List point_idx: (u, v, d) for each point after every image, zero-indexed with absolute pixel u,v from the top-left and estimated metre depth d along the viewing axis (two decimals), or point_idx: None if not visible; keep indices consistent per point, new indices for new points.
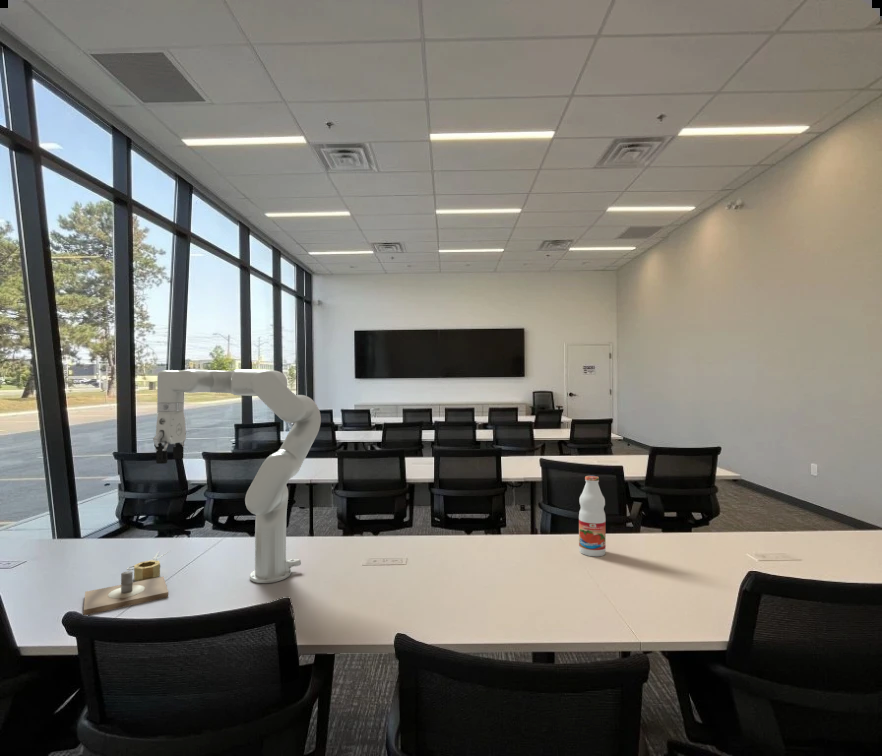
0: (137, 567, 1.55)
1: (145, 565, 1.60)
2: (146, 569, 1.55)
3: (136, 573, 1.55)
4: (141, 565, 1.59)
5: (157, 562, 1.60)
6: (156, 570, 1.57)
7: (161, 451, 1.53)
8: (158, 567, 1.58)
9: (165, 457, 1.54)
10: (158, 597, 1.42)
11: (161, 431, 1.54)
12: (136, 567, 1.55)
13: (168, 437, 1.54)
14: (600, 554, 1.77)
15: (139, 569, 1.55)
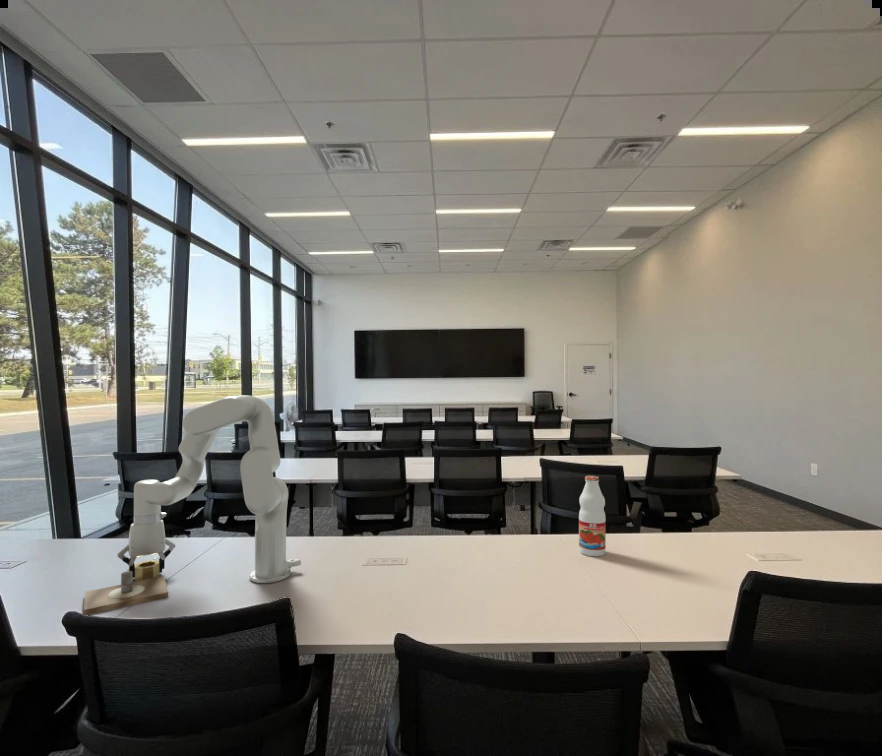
0: (137, 567, 1.55)
1: (145, 565, 1.60)
2: (146, 569, 1.55)
3: (136, 573, 1.55)
4: (141, 565, 1.59)
5: (157, 562, 1.60)
6: (156, 570, 1.57)
7: None
8: (158, 567, 1.58)
9: None
10: (158, 597, 1.42)
11: None
12: (136, 567, 1.55)
13: None
14: (600, 554, 1.77)
15: (139, 569, 1.55)
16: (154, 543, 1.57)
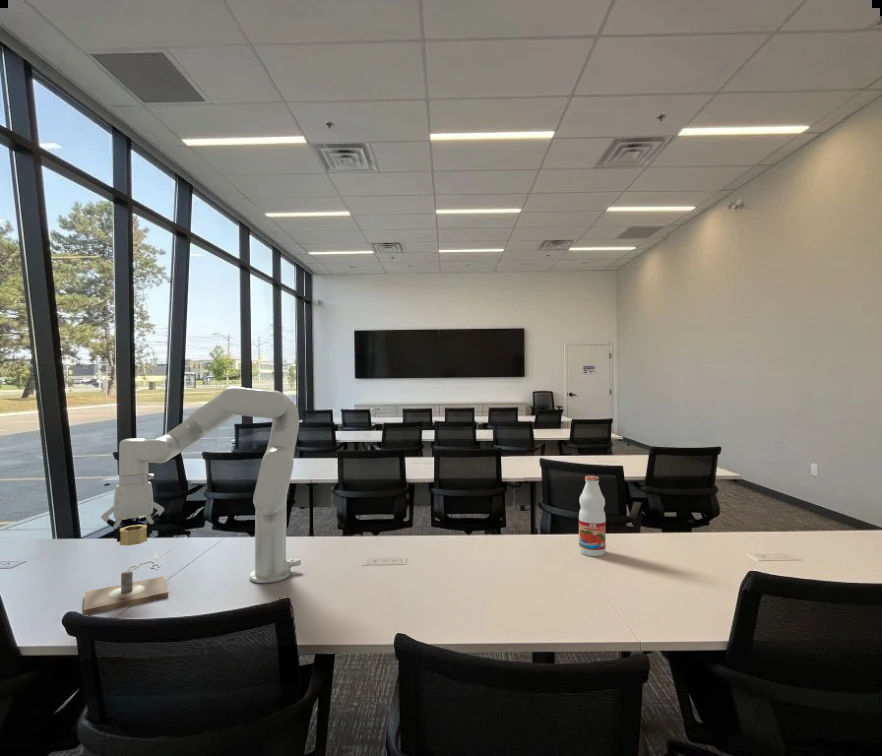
0: (123, 530, 1.45)
1: (132, 529, 1.49)
2: (132, 533, 1.45)
3: (121, 537, 1.45)
4: (127, 529, 1.48)
5: (144, 526, 1.49)
6: (143, 534, 1.47)
7: None
8: (145, 531, 1.48)
9: None
10: (158, 597, 1.42)
11: None
12: (121, 530, 1.45)
13: None
14: (600, 554, 1.77)
15: (124, 532, 1.44)
16: (141, 505, 1.47)
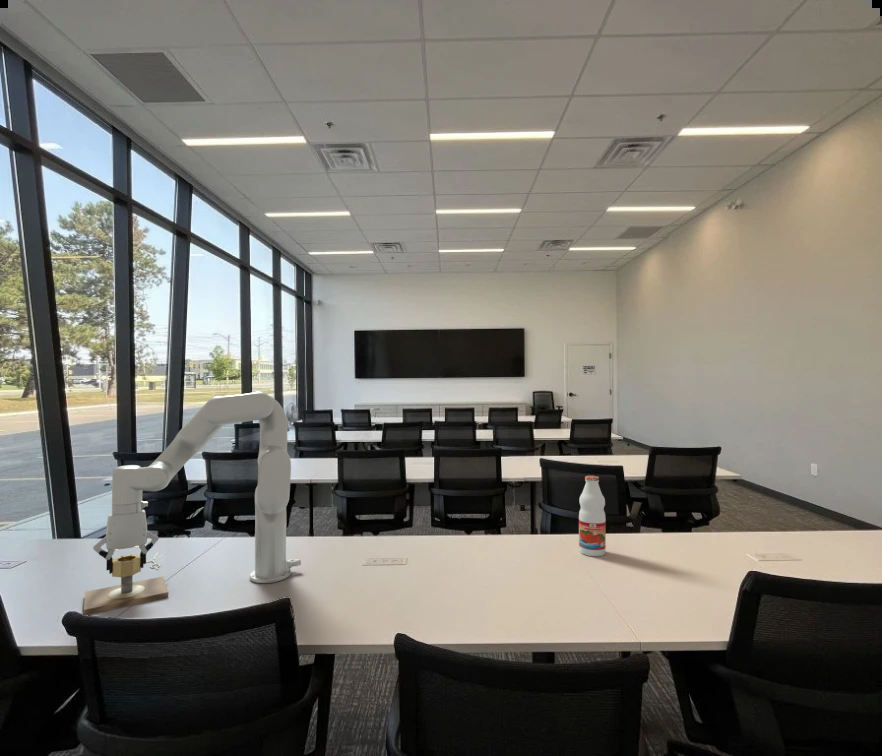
0: (115, 562, 1.40)
1: (125, 559, 1.45)
2: (125, 564, 1.40)
3: (114, 568, 1.40)
4: (120, 559, 1.44)
5: (138, 556, 1.45)
6: (136, 565, 1.43)
7: None
8: (139, 562, 1.43)
9: None
10: (158, 597, 1.42)
11: (147, 530, 1.46)
12: (114, 561, 1.41)
13: None
14: (600, 554, 1.77)
15: (117, 564, 1.40)
16: (134, 535, 1.42)
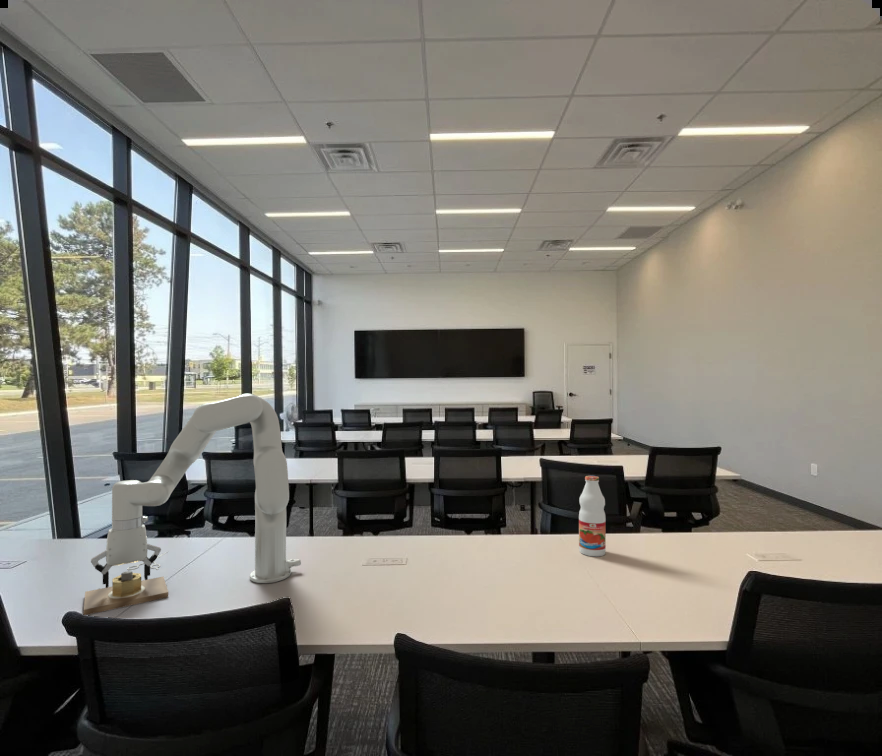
0: (116, 581, 1.40)
1: None
2: (125, 583, 1.40)
3: (114, 588, 1.40)
4: (120, 578, 1.44)
5: (138, 575, 1.45)
6: (137, 584, 1.43)
7: None
8: (139, 581, 1.43)
9: None
10: (158, 597, 1.42)
11: (147, 544, 1.46)
12: (114, 581, 1.41)
13: None
14: (600, 554, 1.77)
15: (118, 583, 1.40)
16: (134, 550, 1.42)
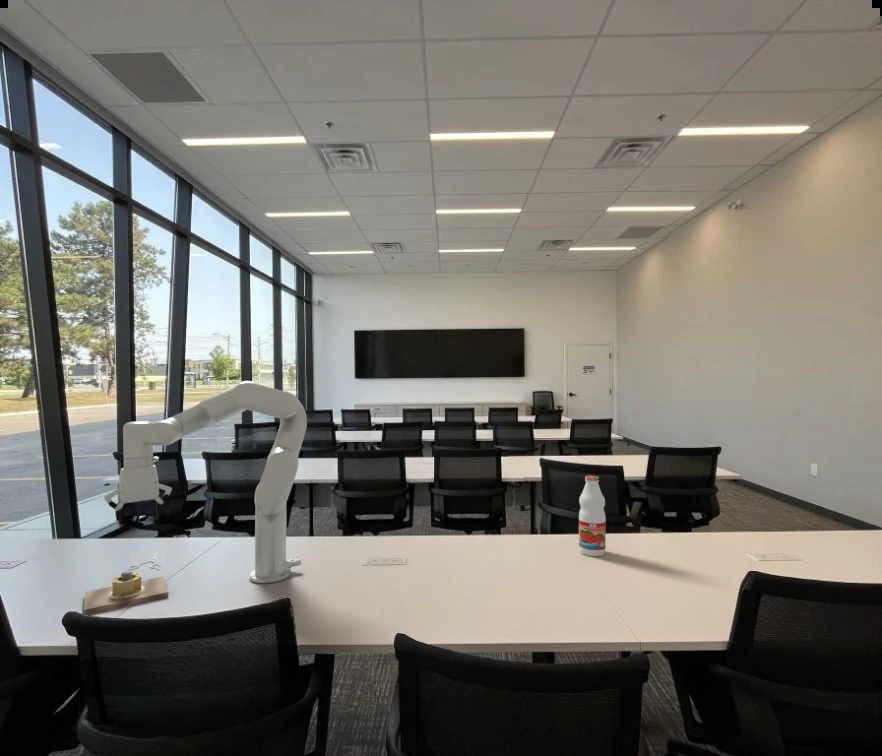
0: (116, 581, 1.40)
1: None
2: (125, 583, 1.40)
3: (114, 588, 1.40)
4: (120, 578, 1.44)
5: (138, 575, 1.45)
6: (137, 584, 1.43)
7: None
8: (139, 581, 1.43)
9: None
10: (158, 597, 1.42)
11: None
12: (114, 581, 1.41)
13: None
14: (600, 554, 1.77)
15: (118, 583, 1.40)
16: (147, 488, 1.46)
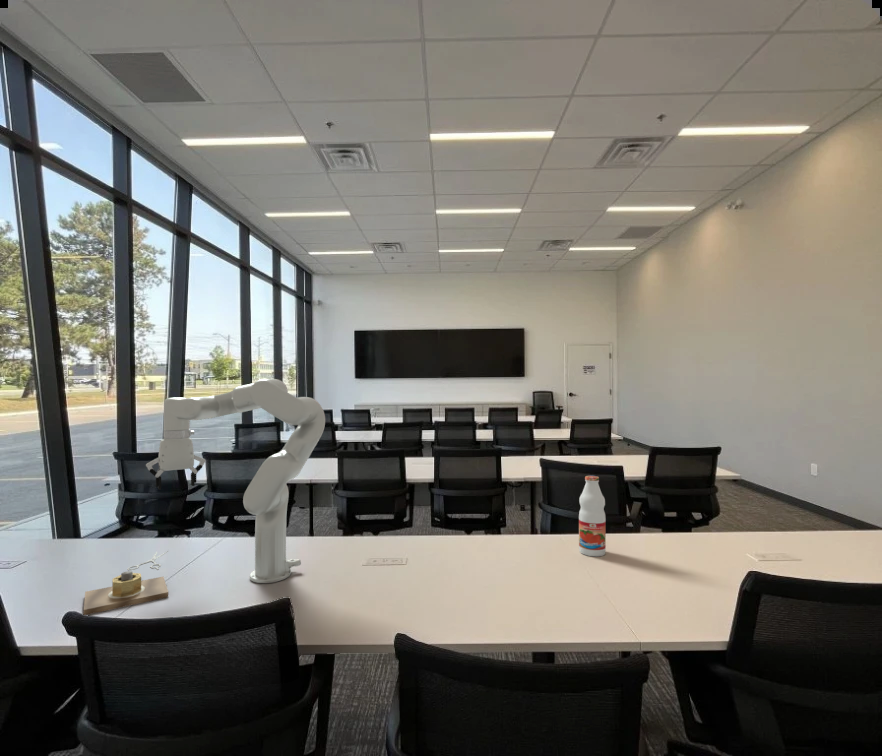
0: (116, 581, 1.40)
1: None
2: (125, 583, 1.40)
3: (114, 588, 1.40)
4: (120, 578, 1.44)
5: (138, 575, 1.45)
6: (137, 584, 1.43)
7: None
8: (139, 581, 1.43)
9: None
10: (158, 597, 1.42)
11: (194, 455, 1.64)
12: (114, 581, 1.41)
13: None
14: (600, 554, 1.77)
15: (118, 583, 1.40)
16: (183, 458, 1.60)
